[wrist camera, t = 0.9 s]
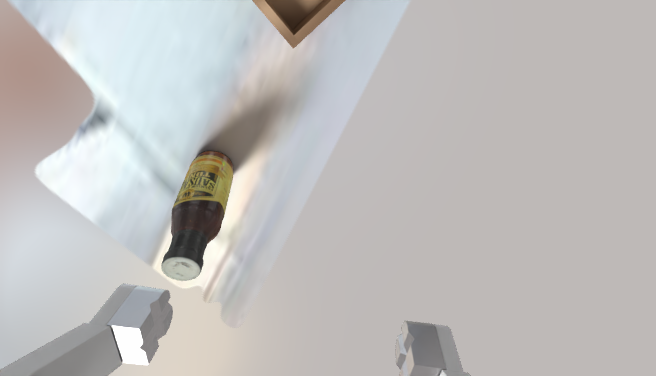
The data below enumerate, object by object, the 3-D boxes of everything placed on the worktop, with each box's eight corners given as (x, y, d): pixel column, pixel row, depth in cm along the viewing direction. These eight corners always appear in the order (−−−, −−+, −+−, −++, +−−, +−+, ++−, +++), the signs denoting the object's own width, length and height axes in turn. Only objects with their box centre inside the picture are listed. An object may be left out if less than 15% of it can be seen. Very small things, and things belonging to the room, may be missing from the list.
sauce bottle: (223, 143, 49) (199, 240, 33) (241, 176, 53) (227, 277, 37) (181, 156, 50) (138, 258, 34) (202, 187, 53) (172, 293, 38)
